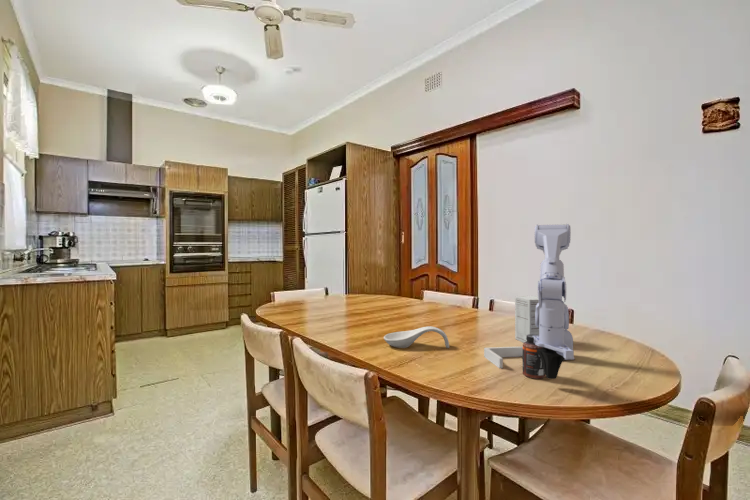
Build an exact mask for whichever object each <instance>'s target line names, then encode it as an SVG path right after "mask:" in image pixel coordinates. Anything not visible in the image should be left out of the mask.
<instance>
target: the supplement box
mask: <svg viewBox="0 0 750 500" xmlns="http://www.w3.org/2000/svg"><path fill="white" fill-rule="evenodd" d="M537 303H539V300H538V295H527V296H515V297H514V319H515V320H514V322H515V323H514V331H515V332H514V333H515V334H514V337H515V338H514V339H515V340H517V341H519V342H521V343H522V344H523V343H524V342H526V341H527V340H526V335H528V334H535V335H539V327H537V326H536V325H535V310H536V305H537Z"/></svg>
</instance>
